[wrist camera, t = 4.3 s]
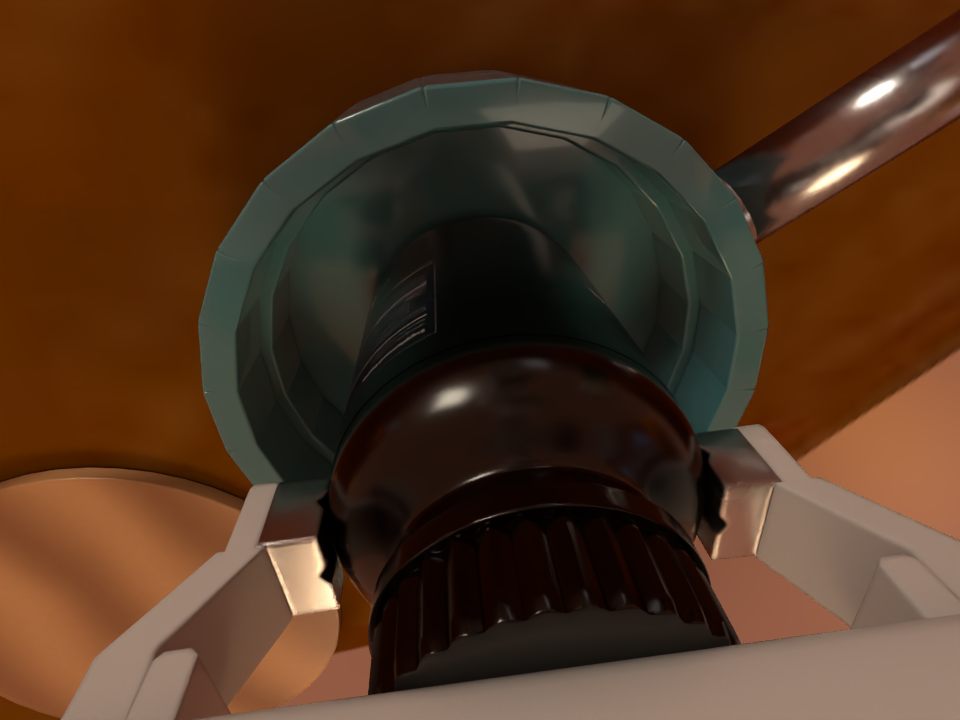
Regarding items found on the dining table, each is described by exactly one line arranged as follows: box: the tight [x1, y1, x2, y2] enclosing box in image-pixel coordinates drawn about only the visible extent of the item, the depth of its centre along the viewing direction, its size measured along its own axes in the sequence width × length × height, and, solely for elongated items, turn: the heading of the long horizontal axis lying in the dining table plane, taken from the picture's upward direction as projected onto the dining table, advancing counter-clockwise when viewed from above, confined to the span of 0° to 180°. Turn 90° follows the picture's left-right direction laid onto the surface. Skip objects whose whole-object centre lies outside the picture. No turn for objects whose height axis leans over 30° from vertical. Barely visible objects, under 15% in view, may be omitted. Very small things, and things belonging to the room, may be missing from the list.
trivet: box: [0, 467, 341, 718], centre depth 22 cm, size 16×16×1 cm
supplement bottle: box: [328, 217, 741, 695], centre depth 12 cm, size 7×7×12 cm
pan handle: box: [714, 9, 960, 244], centre depth 12 cm, size 12×2×2 cm, turn 124°
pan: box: [198, 70, 769, 486], centre depth 15 cm, size 14×14×4 cm
